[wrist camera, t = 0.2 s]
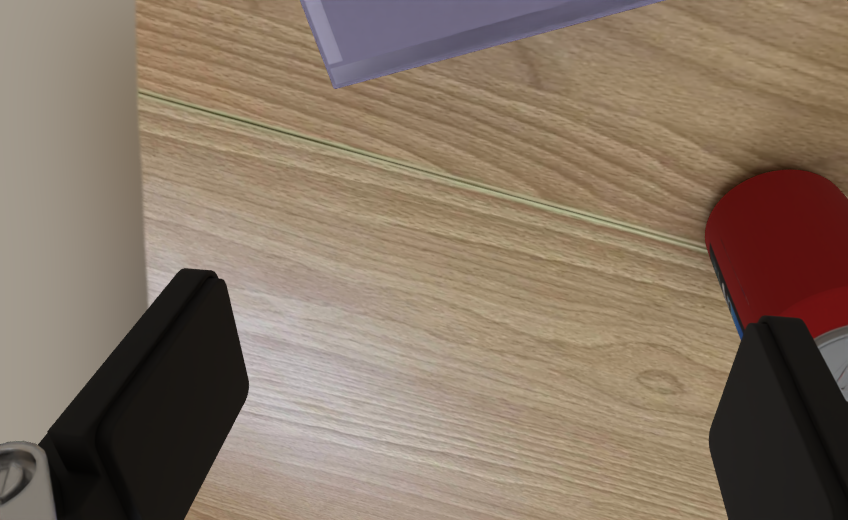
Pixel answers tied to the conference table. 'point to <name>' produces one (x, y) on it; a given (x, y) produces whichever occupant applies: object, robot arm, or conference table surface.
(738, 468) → the robot arm
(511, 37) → the lavender lidded box
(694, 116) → the conference table surface
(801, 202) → the beverage can
